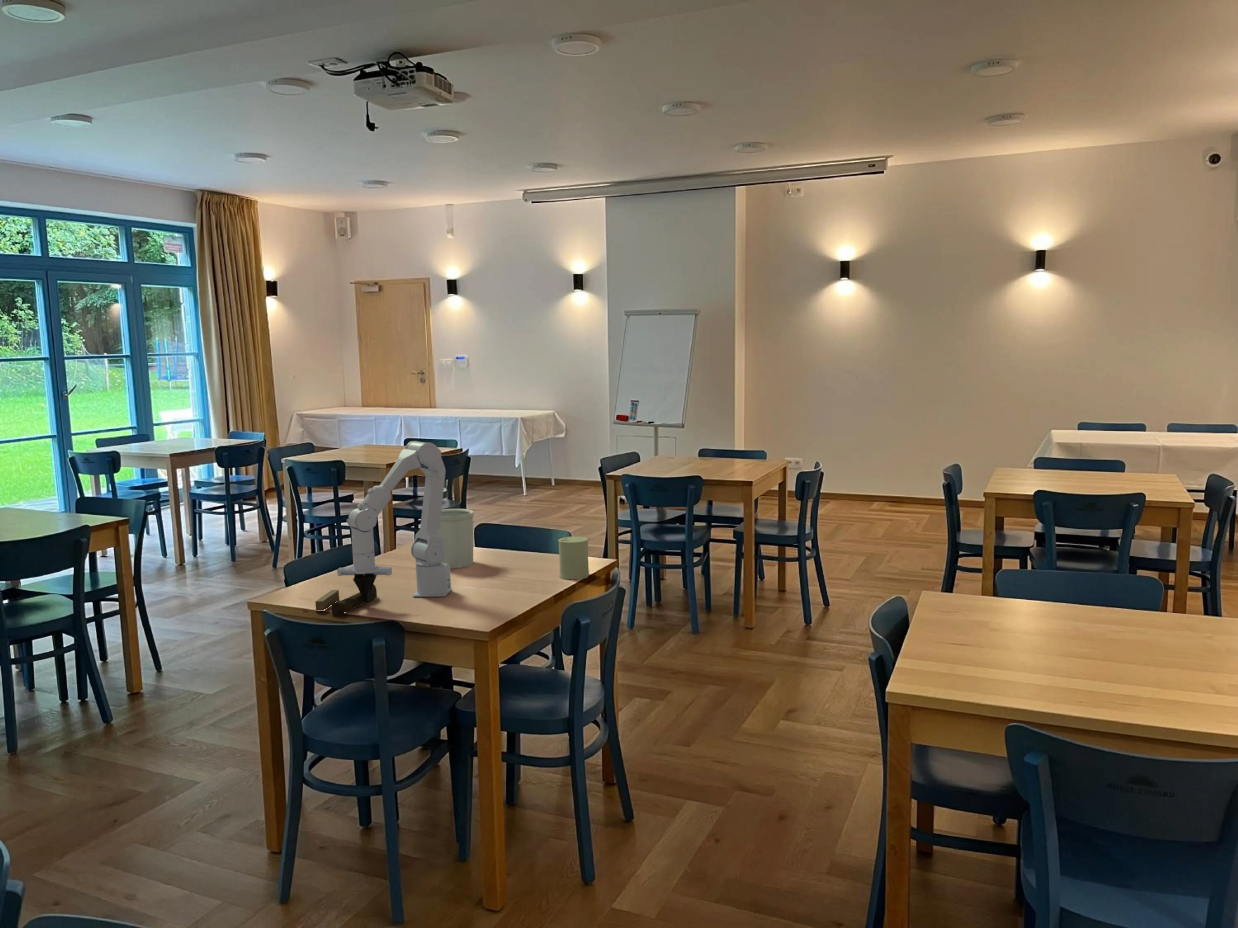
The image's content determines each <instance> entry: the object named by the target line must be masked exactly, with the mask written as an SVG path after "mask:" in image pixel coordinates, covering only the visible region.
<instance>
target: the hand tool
mask: <svg viewBox="0 0 1238 928" xmlns="http://www.w3.org/2000/svg"><path fill="white" fill-rule="evenodd" d="M377 593H378V591H377V587H376V585H375V584H374V583H373V586H372V590H371V594H370V600H369V601H368V602H363V600H362V596H361V594H360V591H359V592H357V593H356V594H352V595H351V596H348V597H347V598H344V599H342V600H339V601H338V602H336V603H332V606H331V607H330V610H331V611H330V612H331V614H332V615H333V616H338V617H341V615H342V614H343V615H345V614H344V612H346V613H347V612H349V611H351V610H353V609H356V608H358V607H360V606H362V605H363V604H370V603H371V601H372V602H373V601H375V600H376V599H377V598H378V594H377ZM343 615H342V616H343Z"/></svg>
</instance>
